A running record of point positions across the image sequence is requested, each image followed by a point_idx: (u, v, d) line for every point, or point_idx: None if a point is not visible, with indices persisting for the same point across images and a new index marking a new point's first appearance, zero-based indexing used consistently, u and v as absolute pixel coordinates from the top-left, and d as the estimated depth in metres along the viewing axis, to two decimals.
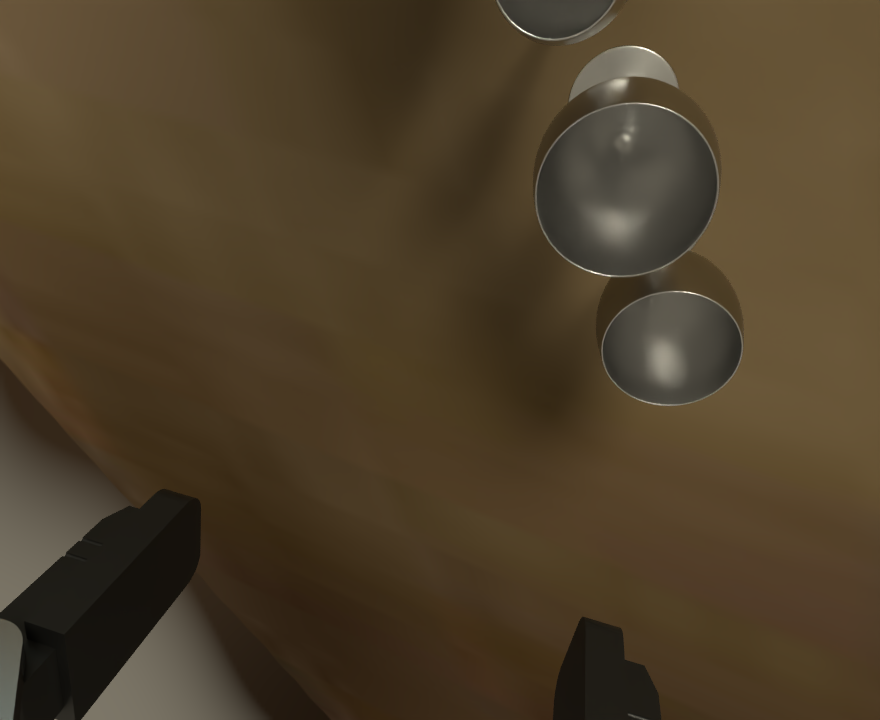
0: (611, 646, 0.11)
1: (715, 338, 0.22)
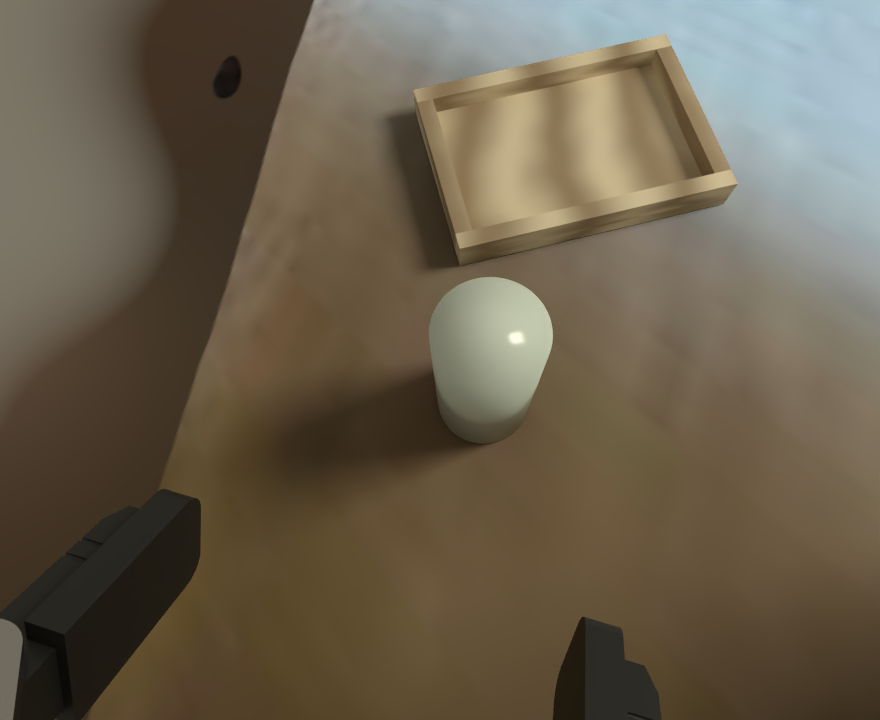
0: (611, 646, 0.11)
1: None
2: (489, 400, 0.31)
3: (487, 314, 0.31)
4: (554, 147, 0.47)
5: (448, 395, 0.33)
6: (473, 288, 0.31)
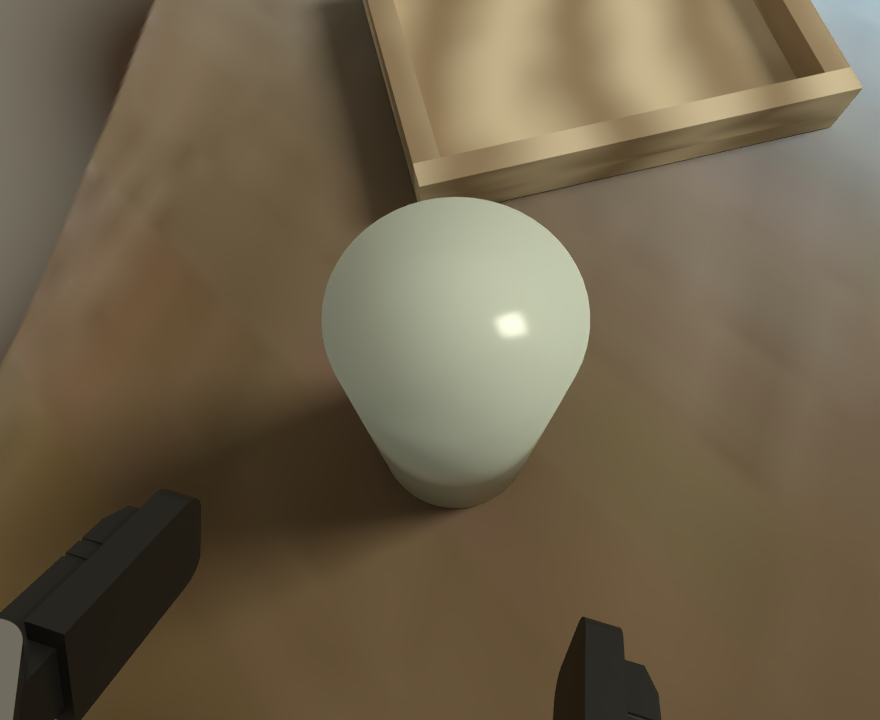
0: (611, 646, 0.11)
1: None
2: (452, 456, 0.14)
3: (448, 273, 0.14)
4: (569, 41, 0.31)
5: (376, 439, 0.17)
6: (420, 219, 0.15)
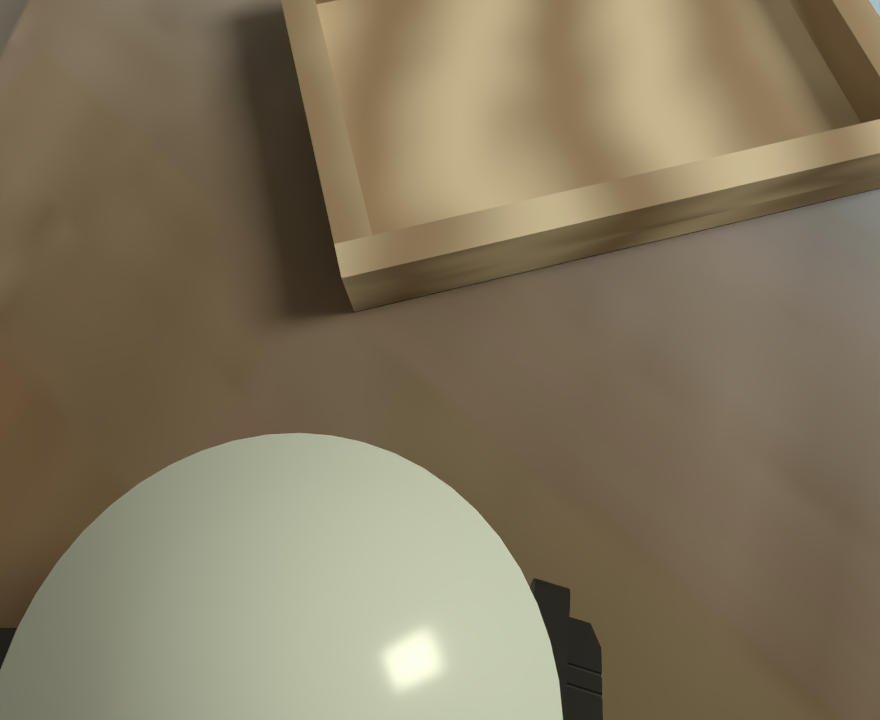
0: (557, 604, 0.12)
1: None
2: None
3: (266, 619, 0.07)
4: (554, 67, 0.23)
5: None
6: (223, 485, 0.07)
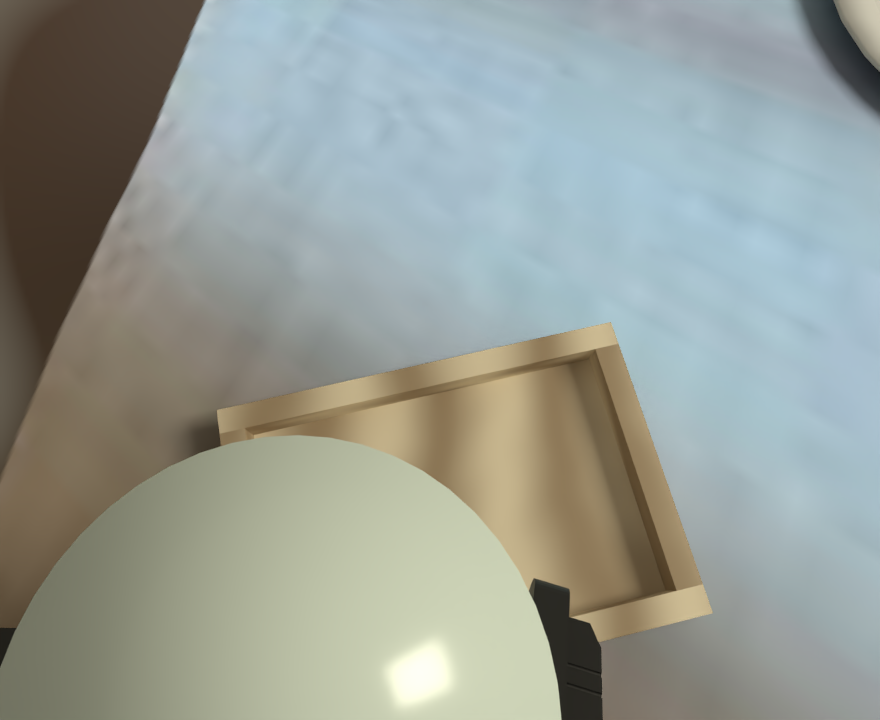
0: (557, 604, 0.12)
1: None
2: None
3: (263, 621, 0.07)
4: None
5: None
6: (221, 488, 0.07)
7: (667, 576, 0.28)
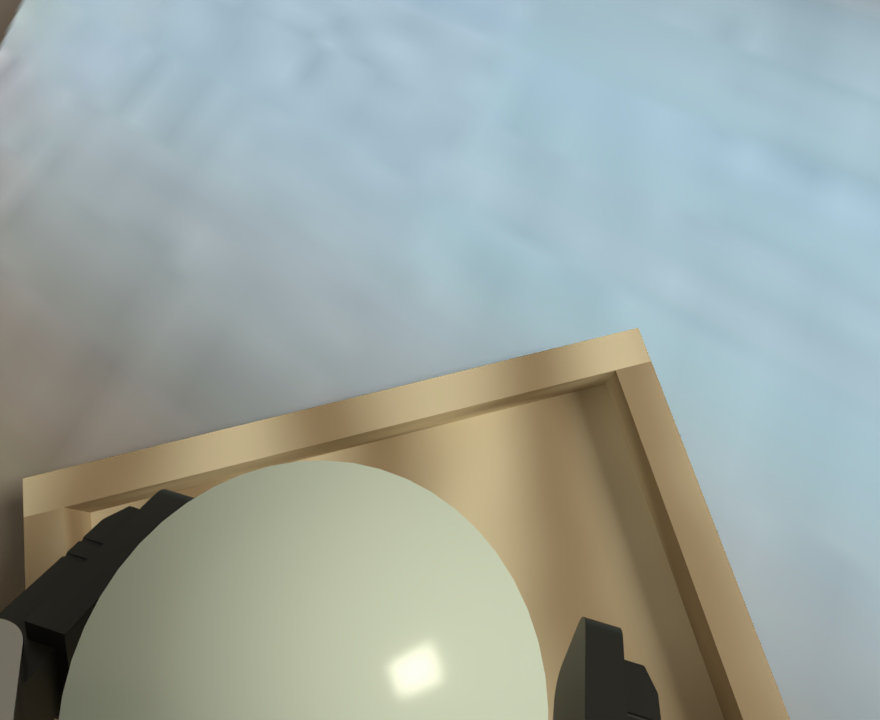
0: (611, 646, 0.11)
1: None
2: None
3: (297, 620, 0.08)
4: None
5: None
6: (259, 505, 0.09)
7: None
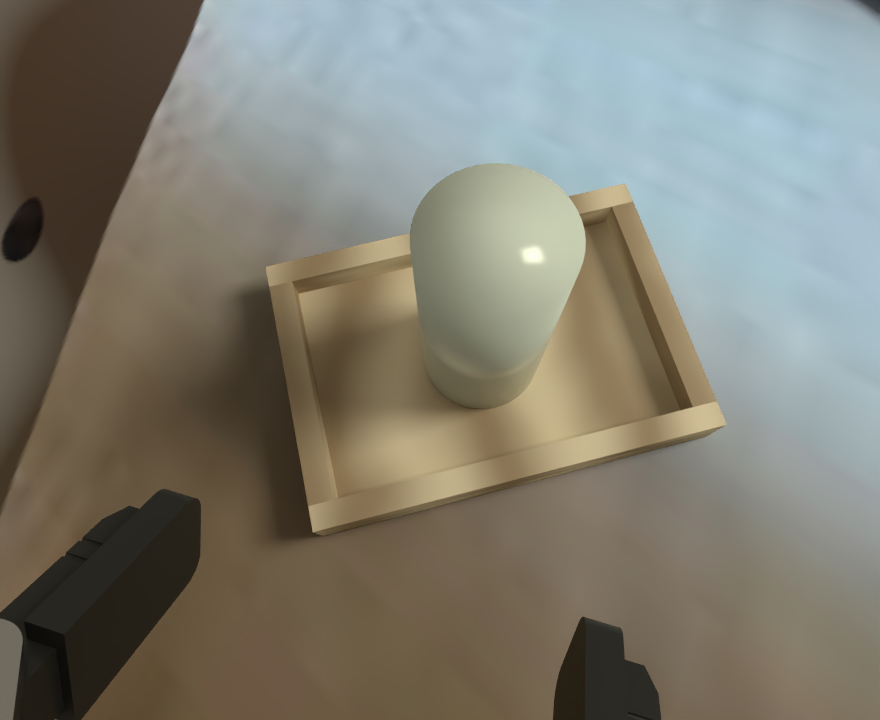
0: (611, 646, 0.11)
1: None
2: (492, 334, 0.22)
3: (492, 213, 0.22)
4: None
5: (435, 332, 0.24)
6: (474, 178, 0.22)
7: (684, 398, 0.31)
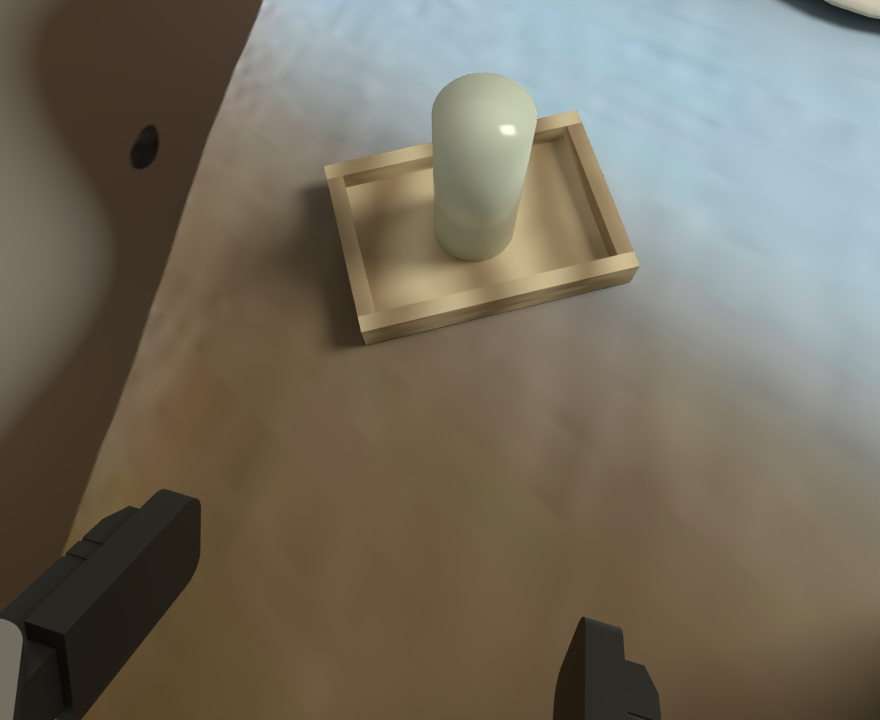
0: (611, 646, 0.11)
1: None
2: (479, 174, 0.36)
3: (482, 101, 0.36)
4: None
5: (444, 182, 0.38)
6: (472, 80, 0.36)
7: (612, 251, 0.45)
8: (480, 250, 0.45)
